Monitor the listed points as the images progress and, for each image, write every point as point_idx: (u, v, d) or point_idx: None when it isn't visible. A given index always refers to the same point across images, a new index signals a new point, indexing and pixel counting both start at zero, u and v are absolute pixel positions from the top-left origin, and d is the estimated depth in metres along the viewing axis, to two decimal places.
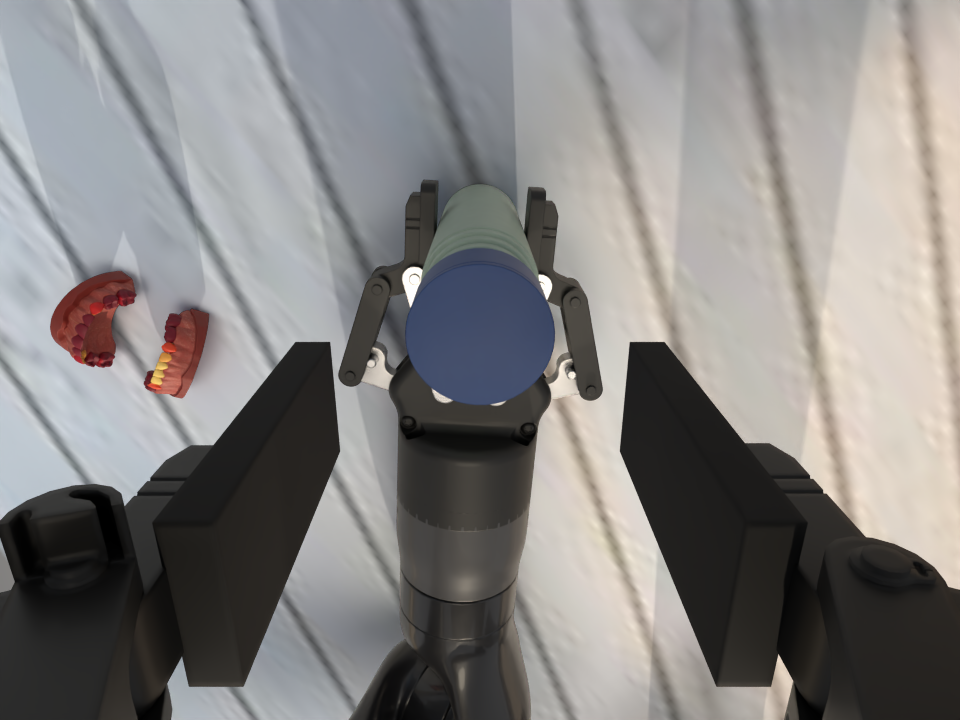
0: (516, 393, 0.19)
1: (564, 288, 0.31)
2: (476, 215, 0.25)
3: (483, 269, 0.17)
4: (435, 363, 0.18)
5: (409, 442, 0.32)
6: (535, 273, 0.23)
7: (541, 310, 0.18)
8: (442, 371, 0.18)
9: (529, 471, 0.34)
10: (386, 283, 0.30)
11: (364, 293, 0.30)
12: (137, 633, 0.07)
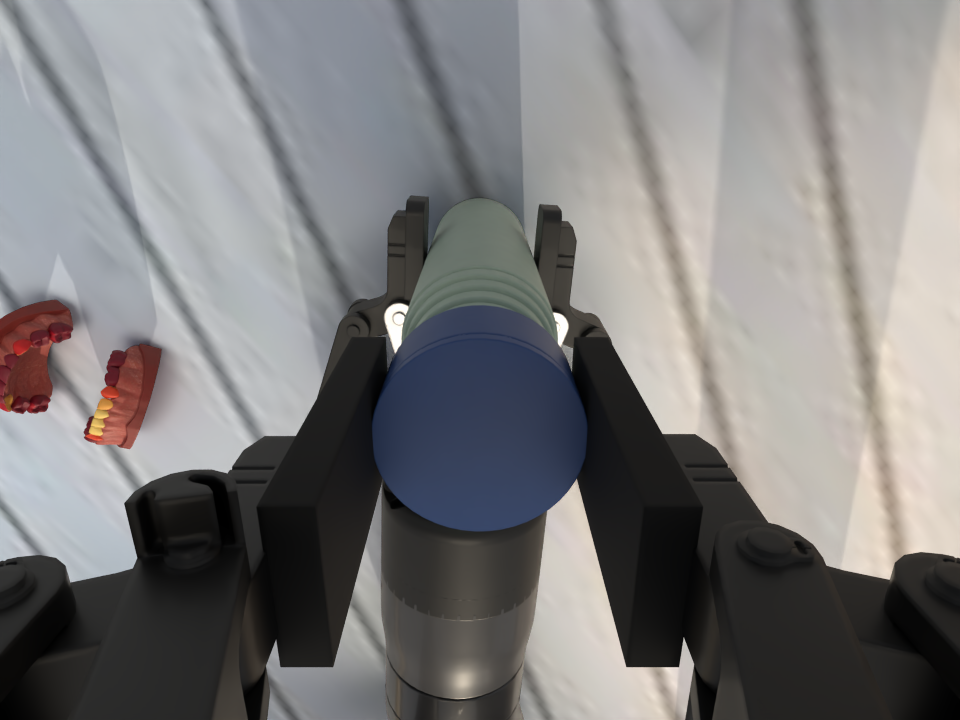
0: (531, 516, 0.13)
1: (583, 328, 0.25)
2: (475, 246, 0.19)
3: (484, 346, 0.12)
4: (415, 476, 0.13)
5: (394, 513, 0.27)
6: (553, 328, 0.17)
7: (569, 403, 0.12)
8: (425, 486, 0.13)
9: (539, 544, 0.28)
10: (364, 323, 0.25)
11: (338, 335, 0.25)
12: (244, 616, 0.08)
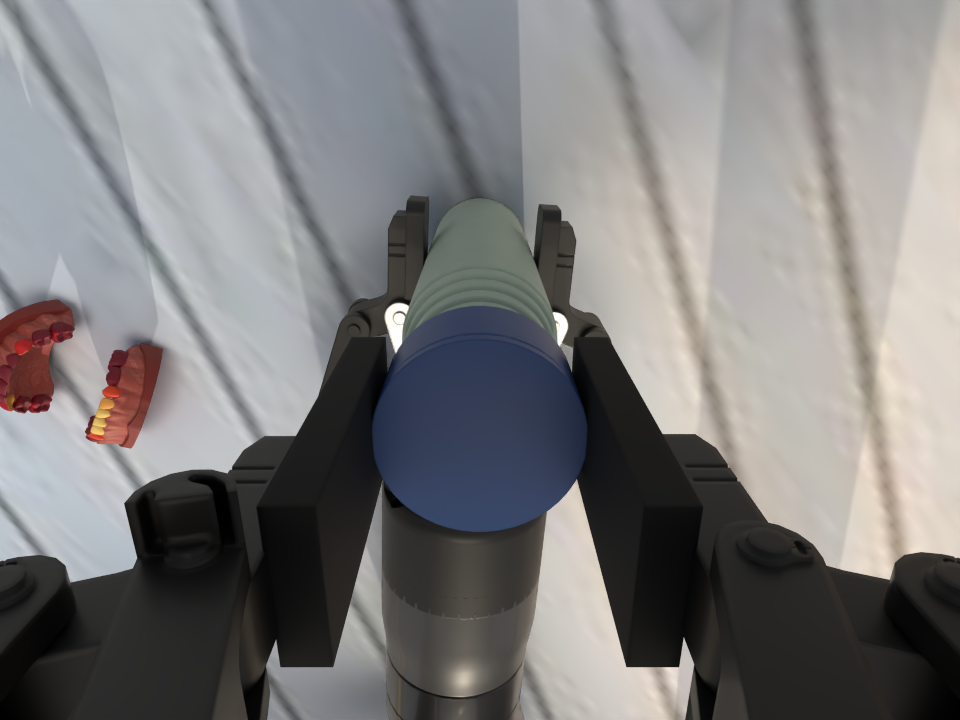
0: (564, 381, 0.12)
1: (582, 327, 0.25)
2: (475, 246, 0.19)
3: (380, 447, 0.13)
4: (526, 493, 0.13)
5: (394, 511, 0.27)
6: (553, 327, 0.17)
7: (425, 365, 0.12)
8: (537, 483, 0.13)
9: (539, 543, 0.28)
10: (365, 322, 0.25)
11: (338, 335, 0.25)
12: (244, 616, 0.08)
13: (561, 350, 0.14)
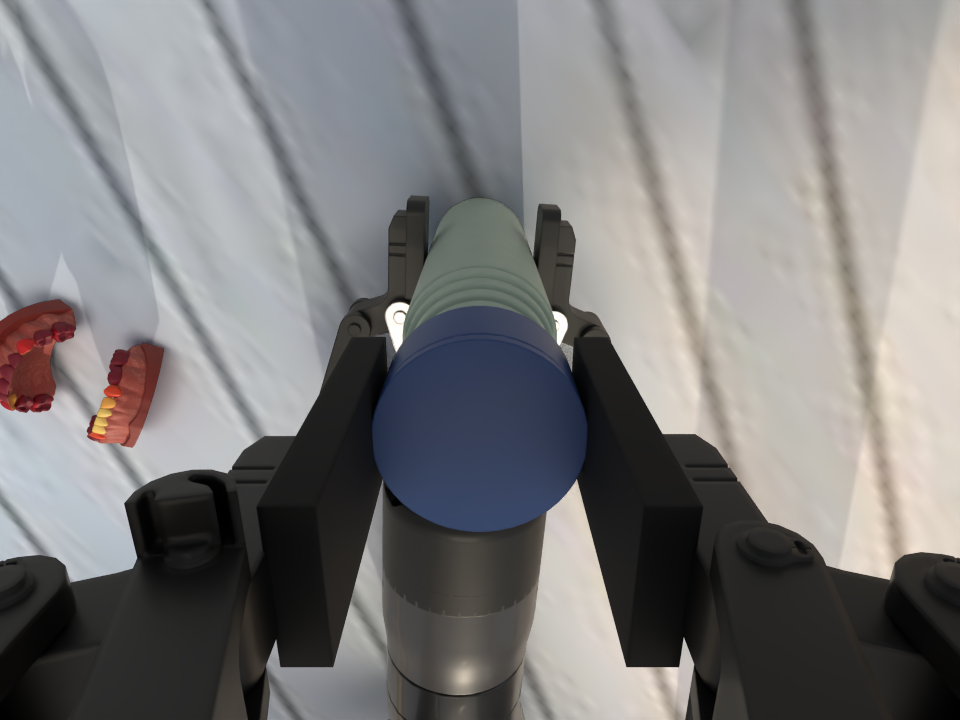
0: (401, 374, 0.12)
1: (582, 326, 0.25)
2: (475, 245, 0.20)
3: (498, 523, 0.13)
4: (535, 391, 0.12)
5: (395, 510, 0.27)
6: (552, 326, 0.17)
7: (407, 494, 0.13)
8: (522, 382, 0.12)
9: (539, 541, 0.28)
10: (365, 322, 0.25)
11: (339, 334, 0.25)
12: (244, 616, 0.08)
13: (416, 330, 0.14)
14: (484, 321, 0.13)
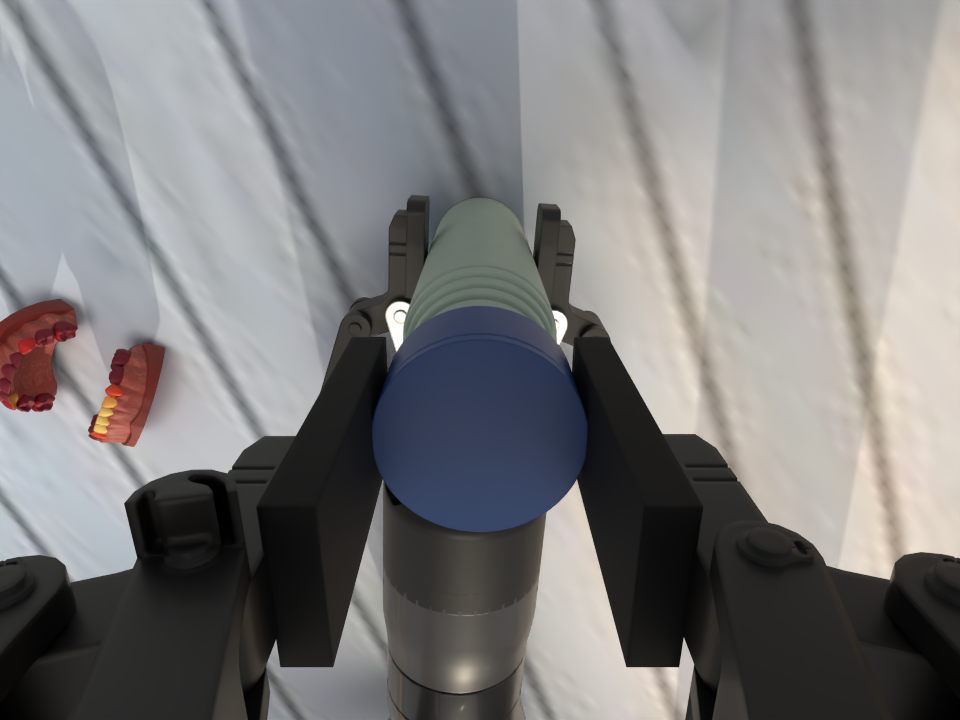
0: (419, 512, 0.13)
1: (582, 326, 0.26)
2: (475, 244, 0.20)
3: (576, 412, 0.12)
4: (416, 399, 0.12)
5: (395, 509, 0.27)
6: (552, 324, 0.17)
7: (547, 498, 0.13)
8: (408, 412, 0.12)
9: (539, 540, 0.28)
10: (366, 321, 0.25)
11: (340, 333, 0.25)
12: (244, 616, 0.08)
13: None
14: None
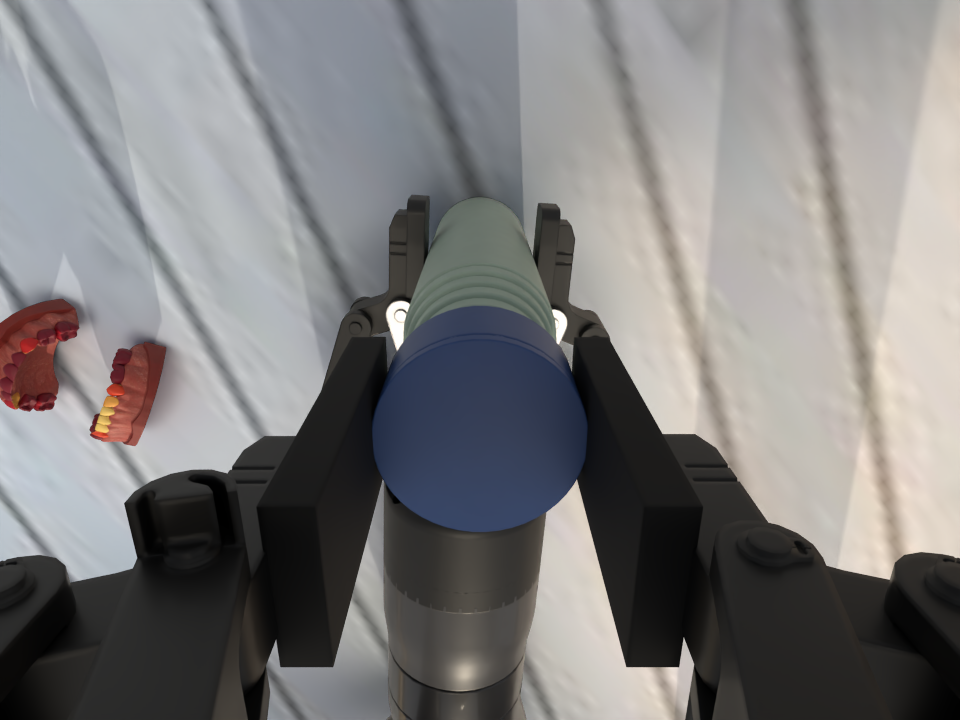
0: (567, 486, 0.13)
1: (581, 325, 0.26)
2: (475, 244, 0.20)
3: (433, 356, 0.12)
4: (442, 499, 0.13)
5: (396, 507, 0.27)
6: (552, 323, 0.17)
7: (540, 369, 0.12)
8: (457, 504, 0.13)
9: (539, 538, 0.28)
10: (366, 320, 0.25)
11: (340, 332, 0.25)
12: (244, 616, 0.08)
13: None
14: None
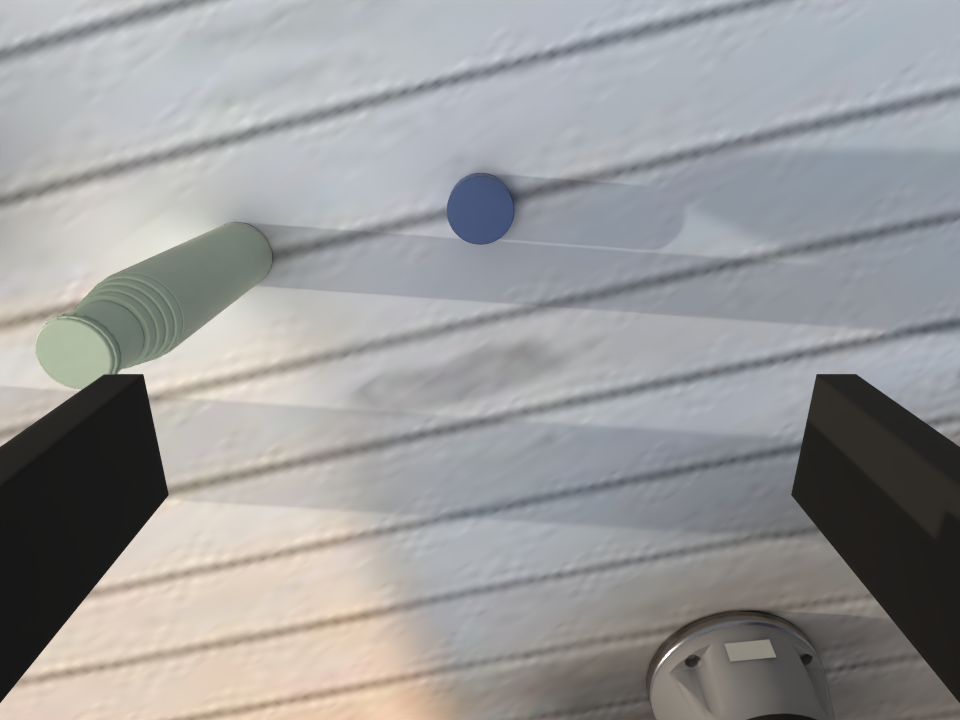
0: (508, 227, 0.41)
1: None
2: (205, 303, 0.33)
3: (466, 182, 0.40)
4: (468, 231, 0.41)
5: None
6: None
7: (498, 186, 0.40)
8: (473, 233, 0.41)
9: None
10: None
11: None
12: None
13: None
14: None
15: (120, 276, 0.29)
